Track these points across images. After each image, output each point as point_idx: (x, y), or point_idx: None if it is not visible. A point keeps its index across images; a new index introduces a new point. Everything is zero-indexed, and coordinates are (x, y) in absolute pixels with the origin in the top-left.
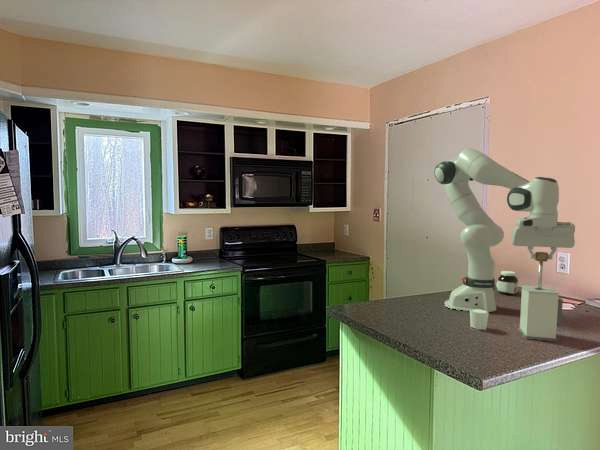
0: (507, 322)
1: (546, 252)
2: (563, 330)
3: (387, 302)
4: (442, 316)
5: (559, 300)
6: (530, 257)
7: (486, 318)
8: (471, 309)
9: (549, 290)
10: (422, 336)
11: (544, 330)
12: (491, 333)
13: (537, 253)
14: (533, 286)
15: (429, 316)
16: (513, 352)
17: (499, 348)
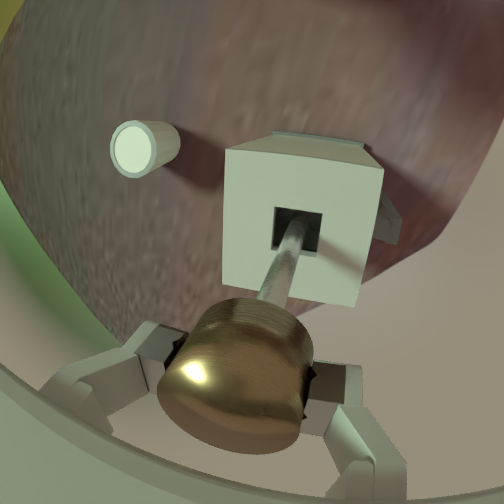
0: (261, 56)
1: (294, 422)
2: (421, 118)
3: (23, 21)
4: (95, 66)
5: (384, 238)
6: (146, 324)
7: (159, 164)
8: (114, 137)
9: (335, 263)
10: (68, 230)
11: None
12: (187, 180)
13: (176, 416)
14: (284, 169)
15: (72, 81)
16: (213, 302)
17: (189, 282)
